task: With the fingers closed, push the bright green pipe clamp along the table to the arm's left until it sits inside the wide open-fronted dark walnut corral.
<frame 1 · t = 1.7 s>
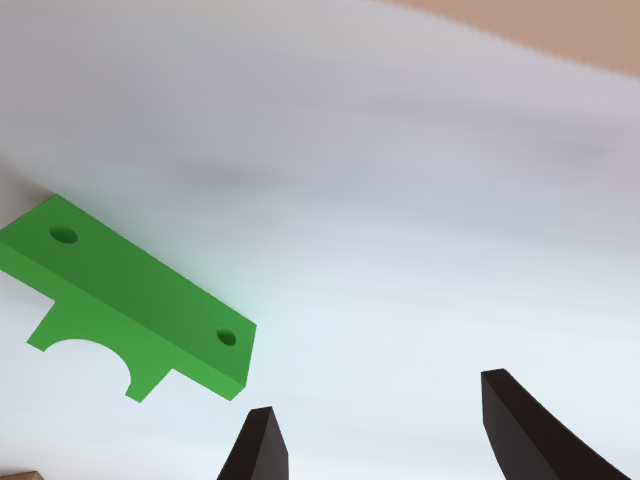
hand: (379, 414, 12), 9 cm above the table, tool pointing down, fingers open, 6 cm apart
pipe clamp: (146, 283, 21), on the table
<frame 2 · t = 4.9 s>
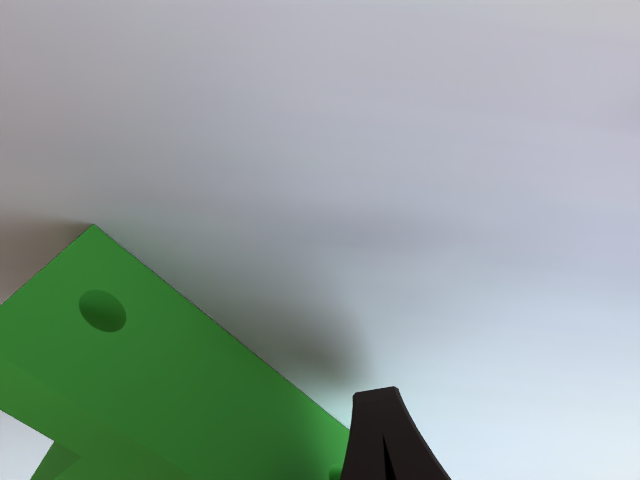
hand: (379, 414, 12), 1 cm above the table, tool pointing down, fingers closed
pipe clamp: (209, 372, 13), on the table, touching gripper
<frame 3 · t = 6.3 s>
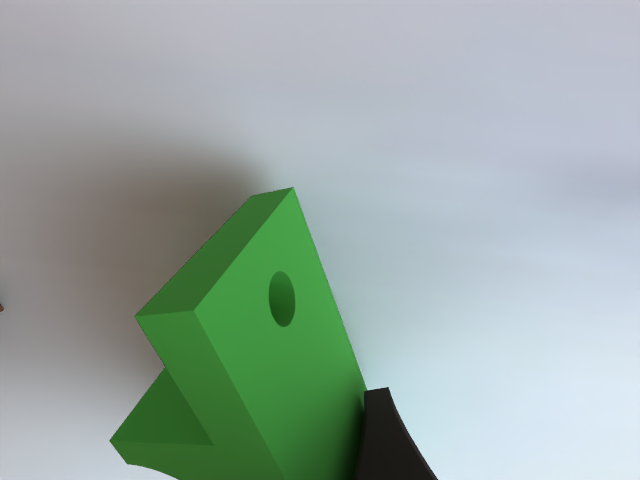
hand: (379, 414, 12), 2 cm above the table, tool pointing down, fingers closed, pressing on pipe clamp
pipe clamp: (304, 360, 13), on the table, touching gripper
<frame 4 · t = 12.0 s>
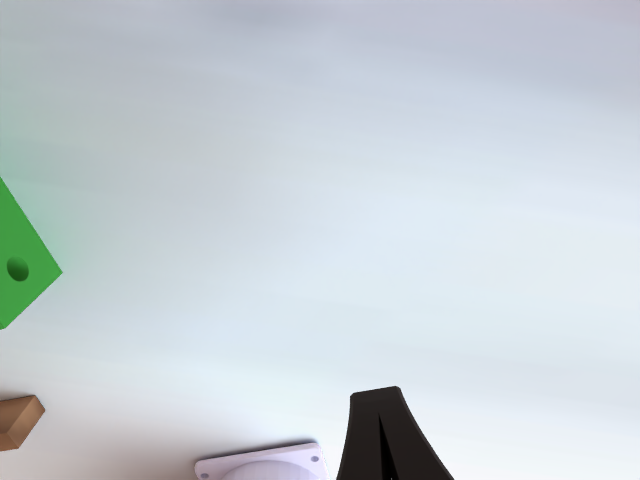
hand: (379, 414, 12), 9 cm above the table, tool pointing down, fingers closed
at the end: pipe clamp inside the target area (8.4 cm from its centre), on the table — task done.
